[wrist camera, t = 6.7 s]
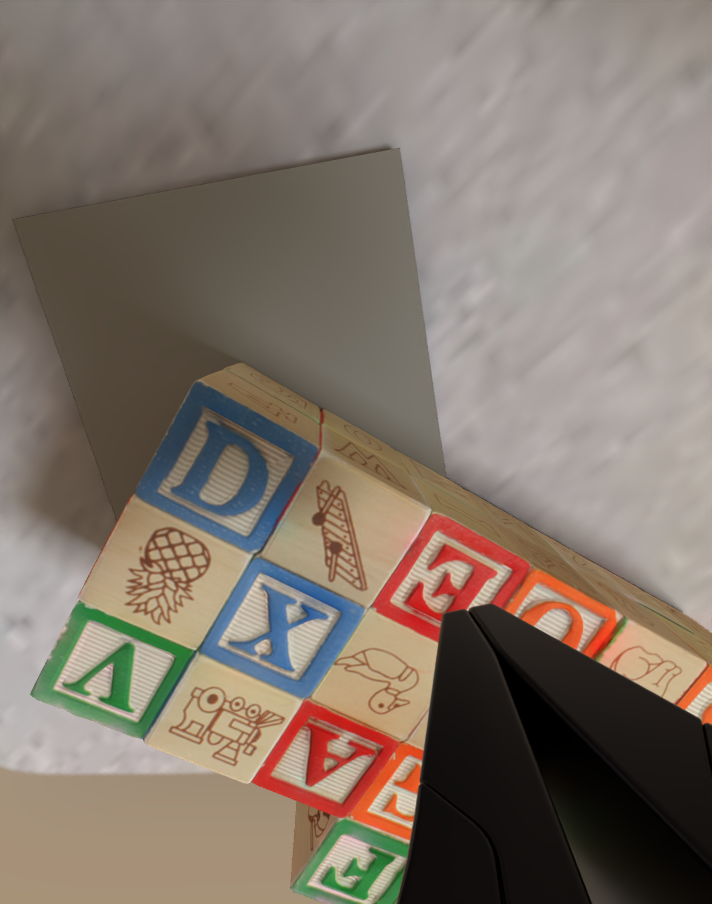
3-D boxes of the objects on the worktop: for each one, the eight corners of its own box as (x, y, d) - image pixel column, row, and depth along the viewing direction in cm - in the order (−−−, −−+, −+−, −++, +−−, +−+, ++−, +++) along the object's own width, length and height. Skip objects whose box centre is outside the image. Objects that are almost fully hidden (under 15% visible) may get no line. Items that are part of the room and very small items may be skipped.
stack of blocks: (242, 354, 16) (88, 636, 18) (194, 367, 10) (-30, 792, 12) (696, 620, 20) (527, 823, 22) (862, 747, 14) (606, 1011, 16)
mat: (397, 152, 15) (399, 148, 14) (466, 633, 19) (469, 640, 19) (20, 222, 15) (12, 219, 14) (181, 692, 19) (178, 699, 19)
